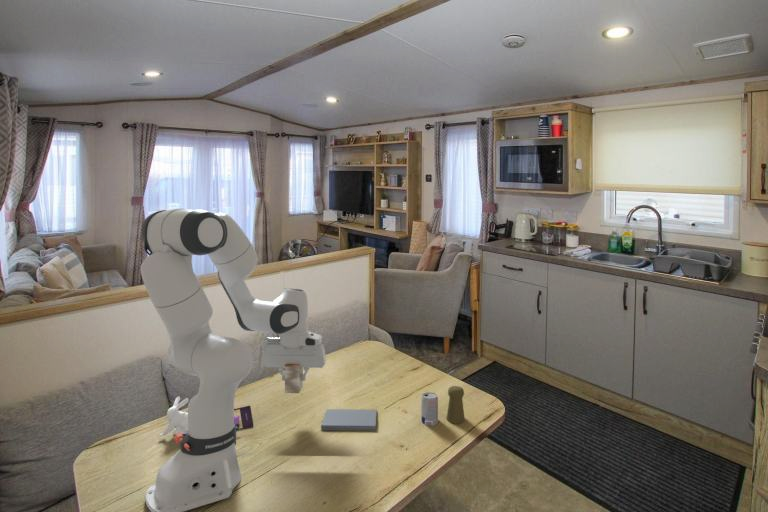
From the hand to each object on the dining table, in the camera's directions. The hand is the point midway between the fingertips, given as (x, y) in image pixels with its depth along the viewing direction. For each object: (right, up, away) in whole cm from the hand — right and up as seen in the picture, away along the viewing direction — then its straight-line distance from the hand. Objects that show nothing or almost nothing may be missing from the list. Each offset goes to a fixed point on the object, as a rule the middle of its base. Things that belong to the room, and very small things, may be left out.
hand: (294, 380), depth 137 cm
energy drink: (+44, -17, +1) cm, 47 cm away
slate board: (+18, -14, +1) cm, 23 cm away
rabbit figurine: (-34, -14, -5) cm, 37 cm away
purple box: (-14, -12, 0) cm, 18 cm away
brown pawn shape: (+53, -14, +2) cm, 55 cm away
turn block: (0, -3, 0) cm, 3 cm away
